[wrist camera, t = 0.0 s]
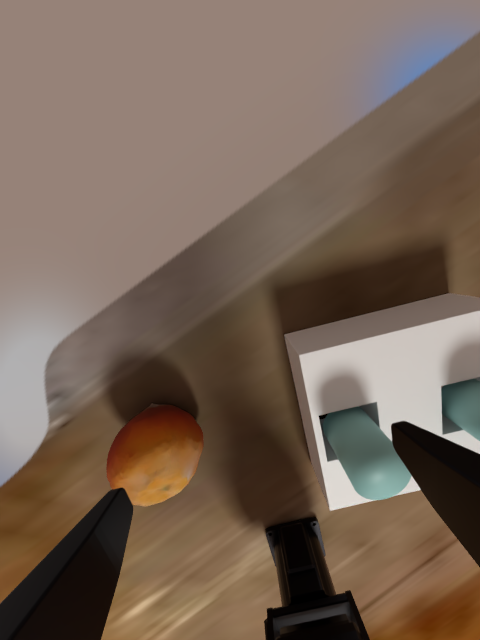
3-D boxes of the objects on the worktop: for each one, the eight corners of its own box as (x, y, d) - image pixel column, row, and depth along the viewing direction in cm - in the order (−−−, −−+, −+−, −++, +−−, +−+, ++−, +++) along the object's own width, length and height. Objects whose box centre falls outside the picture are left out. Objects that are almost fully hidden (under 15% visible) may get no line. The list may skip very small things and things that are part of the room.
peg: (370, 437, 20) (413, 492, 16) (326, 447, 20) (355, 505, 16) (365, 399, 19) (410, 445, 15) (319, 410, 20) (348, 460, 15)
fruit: (128, 378, 21) (140, 460, 15) (198, 389, 26) (227, 454, 20) (90, 441, 22) (87, 538, 16) (163, 439, 28) (181, 513, 22)
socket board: (451, 431, 26) (502, 471, 21) (311, 464, 26) (329, 510, 21) (449, 293, 21) (512, 302, 17) (284, 334, 22) (298, 355, 17)
